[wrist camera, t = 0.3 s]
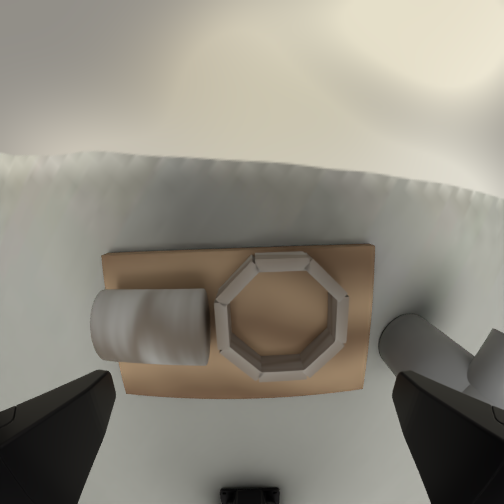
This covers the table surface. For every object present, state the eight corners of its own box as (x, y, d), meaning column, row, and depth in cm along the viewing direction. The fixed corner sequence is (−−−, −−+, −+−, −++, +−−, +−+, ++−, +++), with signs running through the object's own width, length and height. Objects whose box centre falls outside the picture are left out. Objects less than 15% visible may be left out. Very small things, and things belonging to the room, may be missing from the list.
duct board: (358, 381, 25) (382, 423, 18) (130, 386, 25) (105, 428, 18) (369, 243, 23) (406, 258, 17) (107, 252, 23) (66, 269, 17)
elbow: (405, 373, 25) (482, 468, 11) (367, 353, 24) (444, 460, 11) (449, 309, 24) (553, 375, 10) (415, 283, 23) (530, 348, 10)
